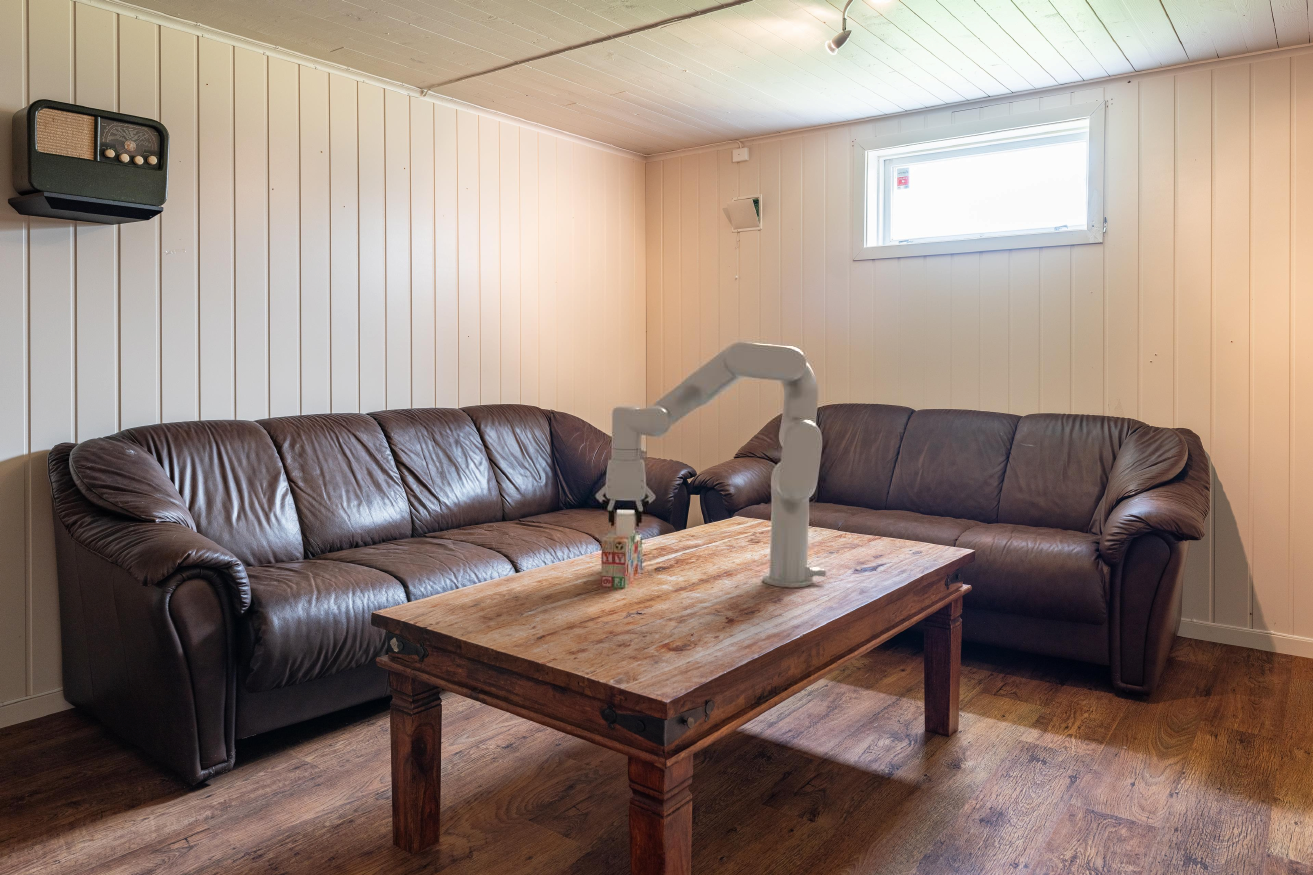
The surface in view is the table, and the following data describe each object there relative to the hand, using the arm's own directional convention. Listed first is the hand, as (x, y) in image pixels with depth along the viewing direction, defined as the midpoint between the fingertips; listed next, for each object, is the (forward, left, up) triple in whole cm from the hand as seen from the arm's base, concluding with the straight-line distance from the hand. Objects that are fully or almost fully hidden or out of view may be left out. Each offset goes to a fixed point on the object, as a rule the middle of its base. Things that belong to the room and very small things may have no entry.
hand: (625, 524), depth 222 cm
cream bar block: (0, 0, -2) cm, 2 cm away
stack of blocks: (+1, -2, -14) cm, 15 cm away
